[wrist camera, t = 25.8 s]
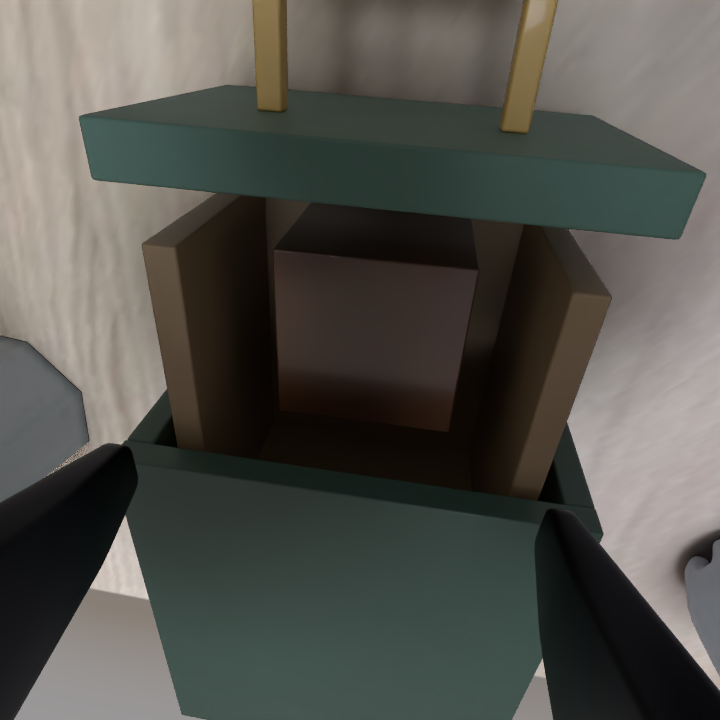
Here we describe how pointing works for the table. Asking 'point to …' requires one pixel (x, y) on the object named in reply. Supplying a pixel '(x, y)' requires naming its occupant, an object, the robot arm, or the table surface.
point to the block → (373, 314)
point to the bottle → (705, 601)
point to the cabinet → (339, 585)
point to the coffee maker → (35, 417)
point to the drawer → (396, 193)
